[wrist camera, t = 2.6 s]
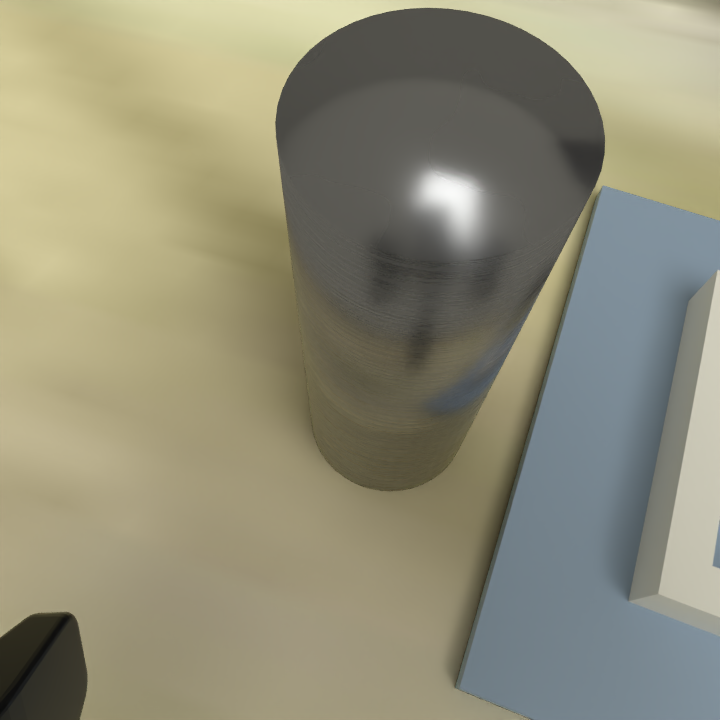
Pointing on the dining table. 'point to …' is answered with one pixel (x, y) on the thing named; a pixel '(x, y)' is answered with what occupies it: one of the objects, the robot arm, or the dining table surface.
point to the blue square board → (616, 490)
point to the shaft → (424, 223)
